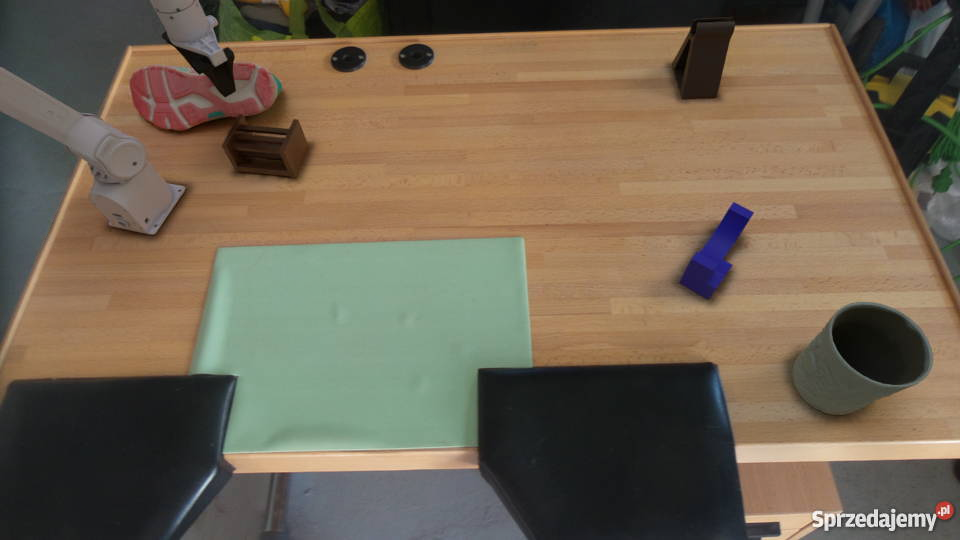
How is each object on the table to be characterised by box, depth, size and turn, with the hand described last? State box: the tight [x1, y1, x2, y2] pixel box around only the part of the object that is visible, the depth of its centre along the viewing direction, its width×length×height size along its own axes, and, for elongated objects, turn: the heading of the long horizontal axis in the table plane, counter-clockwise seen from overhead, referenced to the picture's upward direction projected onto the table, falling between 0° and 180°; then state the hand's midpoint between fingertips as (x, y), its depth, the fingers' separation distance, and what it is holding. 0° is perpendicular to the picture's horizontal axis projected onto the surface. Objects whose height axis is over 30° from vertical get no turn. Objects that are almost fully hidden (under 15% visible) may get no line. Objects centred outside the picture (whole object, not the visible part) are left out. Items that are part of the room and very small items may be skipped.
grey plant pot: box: [791, 301, 934, 416], centre depth 65 cm, size 10×10×12 cm
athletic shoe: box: [129, 61, 283, 131], centre depth 97 cm, size 27×9×12 cm
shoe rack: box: [221, 114, 310, 179], centre depth 91 cm, size 7×10×6 cm
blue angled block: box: [678, 201, 755, 301], centre depth 78 cm, size 12×4×6 cm, turn 141°
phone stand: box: [670, 16, 736, 99], centre depth 95 cm, size 9×6×12 cm, turn 1°
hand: (216, 82), depth 89 cm, fingers open, 7 cm apart
